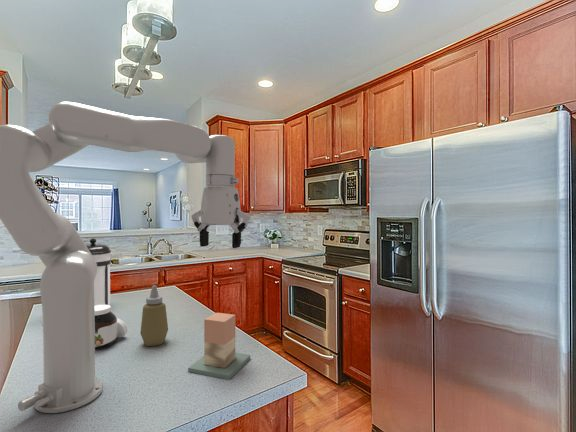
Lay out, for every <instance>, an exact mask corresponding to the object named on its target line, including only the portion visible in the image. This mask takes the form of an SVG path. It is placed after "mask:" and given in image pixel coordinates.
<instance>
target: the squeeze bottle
mask: <svg viewBox="0 0 576 432" xmlns="http://www.w3.org/2000/svg"><path fill="white" fill-rule="evenodd" d="M145 303H146V304H144V305H143V306H142V312H141V314H142V315H141V323H140V325H141V326H140V332H139V333H140V336H141V339H142V342H143V344H144V345H145V346H147V347H156V346H159V345H162V344H163V343H165V341H166V338H167V335H168V332H169V323H168V317H167V316H168V315H167V306H166V304H165V303H164V302H163V296H162V295H159V291H158V288H157V284H156V285H154V284H153V285H152V286H151V290H150V294H149V296H147V297H146V300H145Z"/></svg>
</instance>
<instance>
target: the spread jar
mask: <svg viewBox="0 0 576 432" xmlns="http://www.w3.org/2000/svg"><path fill="white" fill-rule="evenodd" d="M94 309H95V351H96V350H102V349H104V348H107V347H109V346H111V345H112V344H113V343H114V342H115V340H116V338H120V339H121V338H124V336H125V335H127V333H128V327H127V324H126V323H125V322H124V321H123V320H122V319H120V318H118V317H117V316H116V314H115V313H113V312H112V306H111V305H95V306H94Z"/></svg>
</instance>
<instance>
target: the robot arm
mask: <svg viewBox="0 0 576 432" xmlns="http://www.w3.org/2000/svg"><path fill="white" fill-rule="evenodd" d="M88 146H94V147H95V146H96V147H99V148H101V147H102V148H107V149H110V150H116V151H120V152H125V153H126V152H127V153H139V152H145V151H147V152H148V151H154V152H164V153H170V154H175V156H176V158H177V159H179V160H180V161H181V162H183V163H185V164H186V163H187V164H202V163H204V164H205V187H204V188H203V191H202V196H201V202H200V205H201V206H200V210H198V211H196V212H195V213H193V214H192V215H191V216H190V217H191V220H192V222H193V225H194V226H195V228H196V230H197V232H199V246H200V247H207V246H209V245H210V244H209V243H210V242H209V240H210V239H209V237H210V236H209V235H210V234H209V231H208V229H209V227H210V226H230V228H231V229H232V230H233V232H232V235H231V236H232V238H231V241H232V242H231V245H232V246H231V247H232V249H238V248H240V247H241V244H242V233H243V232H244V230H245V229H246V228H247V227H248V224H249V222H250V221H251V218H252V217H251V216H250V215H249V214H247V213H246V212H244V211H242V209H241V200H240V195H239V191H238V188H237V187H236V184H239V183H240V179H239V177H237V178H236V175H235V171H236V169H235V168H236V143H235V139H234V137H232V136H229V135H224V134H213V135H209V134H208V132H207V131H206V130H204V129H203V128H201V127H199V126H197V125H193V124H189V123H184V122H180V121H177V120H173V119H168V118H160V117H159V118H157V117H146V116H136V115H129V114H125V113H121V112H116V111H112V110H107V109H104V108H100V107H96V106H92V105H87V104H82V103H79V102H72V101H61V102H58V103H56V104H54V105H53V106H52V108H51V109H50V111H49V113H48V123H47V124H45V125H43V126H40V127H38V128H37V129H35V130H32V131H31V130H30V129H28V128H26V127H24V126H20V125H16V124H9V123H8V124H0V221H1V223H2V224H3V225H4V227H5V228H6V230H7V231H8V233H9V234H10V236H11V237H12V239H13V241H14V242H15V244H16V245H17V247H18V248H19V250H21V251H22V252H24V253H25V254H27V255H30V256H35V257H38V258H39V259H40V261H41V262H42V264H44V266H45V269H44V270H43V272H42V274H41V277H40V282H39V284H40V285H39V293H40V300H41V307H42V310H41V311H42V312H41V313H42V333H43V335H42V337H43V339H42V341H43V342H42V343H43V344H42V345H43V346H42V347H43V348H42V349H43V350H42V351H43V354H42V355H43V358H42V359H43V362H42V363H43V383H40V384H39V385H37V387H38V388H37V389H38V390H37V391H35V392H34V394H33V395H31V396H28V397H25V398H24V399H22V400H21V401H18V403H17V408H18V410H19V411H20V412H23V411H25V410H28V409H29V408H31V407H33V408H35V409H36V410H37V411H38V412H40V413H44V414H58V413H65V412H68V411H69V412H70V411H72V410H75V409H78V408H80V407H83V406H85V405H87V404H89V403H91V402H92V401H94V400H96V399H97V398H98V397H99V396H100V394H101V393H102V391H103V390H104V384H103V381H102V380H101V379H100V378H96V350H95V309H94V280H95V277H96V274H97V264H96V261H95V259H94V257H93V256H92V254H91V252H90V251H89V249H88V248H87V246H86V245H87V244H86V243H85V242H84V240H83V239H82V237H81V235H80V234H79V232H78V231H77V229H76V228H75V226H74V224H73V223H72V222H71V221H70V219H68V218H66V216H65V215H63V214H60V213H58V212H55V211H54V210H53V208H52V206H51V205H50V204H49V203H48V201H47V200H46V198H45V197H44V195H43V193H42V191H41V190H40V188H39V187H38V185H37V184H36V182H35V181H34V180H33V177H31V175H30V173H37V172H40V171H44V170H46V169H48V168H50V167H52V166H54V165H55V164H57V163H59V162H61V161H63V160H64V159H67V158H69V157H70V156H71V157H72V155H74V154H76V153H78V152H80V151H81V150H83V149H85V148H86V147H88ZM241 220H242V222H241Z"/></svg>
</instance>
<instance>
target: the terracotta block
mask: <svg viewBox="0 0 576 432" xmlns="http://www.w3.org/2000/svg"><path fill="white" fill-rule="evenodd" d="M203 322H204V324H203V325H204V326H203V327H204V328H203V329H204V333H203V334H204V335H203V337H204V342H208V343H215V344H221V345H225V344H226V343H228V342H229V341H230V340H232V339H233V338H234V337H235V338H236V314H231V313H224V312H215V313H213V314H211V315H209V316H208V317H206V318H204V321H203ZM204 342H203V343H204Z"/></svg>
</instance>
